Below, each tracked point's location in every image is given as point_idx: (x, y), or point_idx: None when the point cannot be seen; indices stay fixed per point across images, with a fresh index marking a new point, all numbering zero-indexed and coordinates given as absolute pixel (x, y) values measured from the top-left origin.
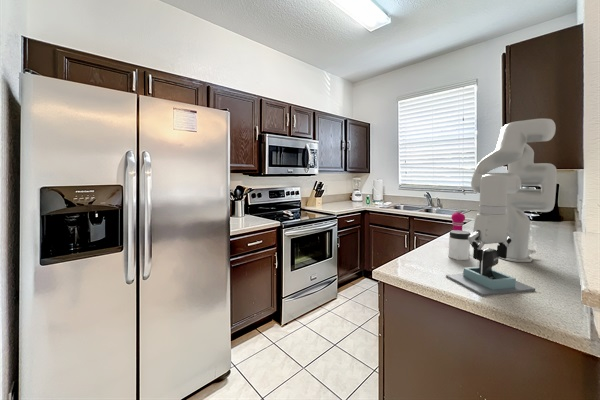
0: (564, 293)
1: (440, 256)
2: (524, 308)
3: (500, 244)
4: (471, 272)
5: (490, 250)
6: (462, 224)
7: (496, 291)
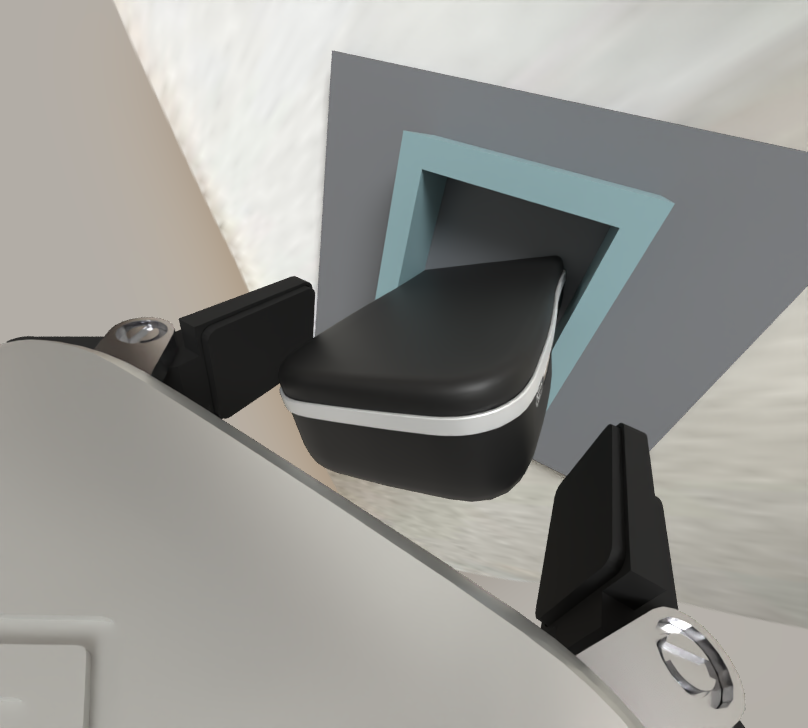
0: (705, 581)
1: None
2: None
3: (589, 635)
4: (390, 230)
5: (349, 459)
6: None
7: None
